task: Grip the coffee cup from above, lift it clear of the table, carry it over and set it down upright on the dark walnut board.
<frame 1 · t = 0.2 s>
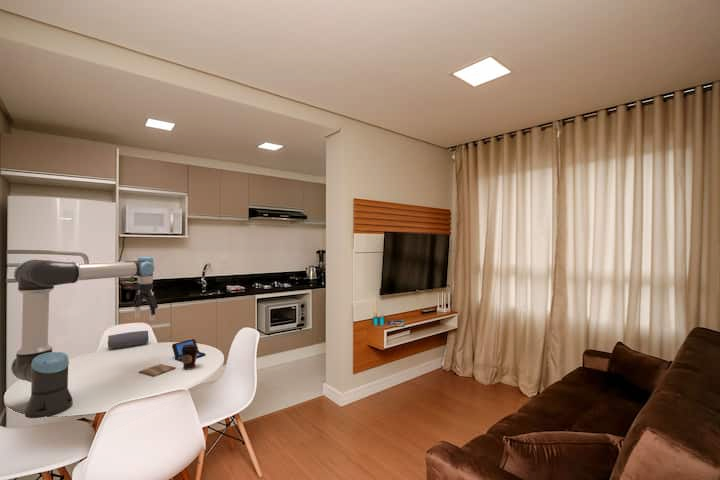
hand: (144, 319, 195), 28 cm above the table, tool pointing down, fingers open, 13 cm apart
walnut board: (157, 370, 189), on the table
handheld game console: (189, 357, 212), on the table
bluetooth speaker: (128, 347, 232), on the table
coffee cup: (189, 367, 194), on the table
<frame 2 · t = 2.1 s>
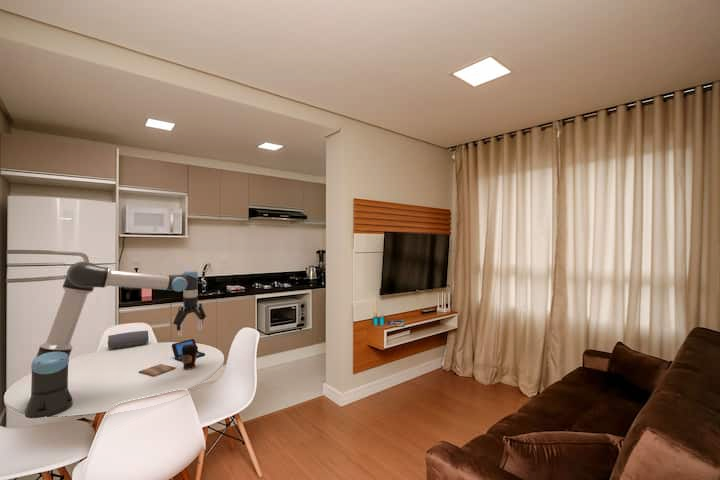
hand: (190, 333, 195), 20 cm above the table, tool pointing down, fingers open, 13 cm apart
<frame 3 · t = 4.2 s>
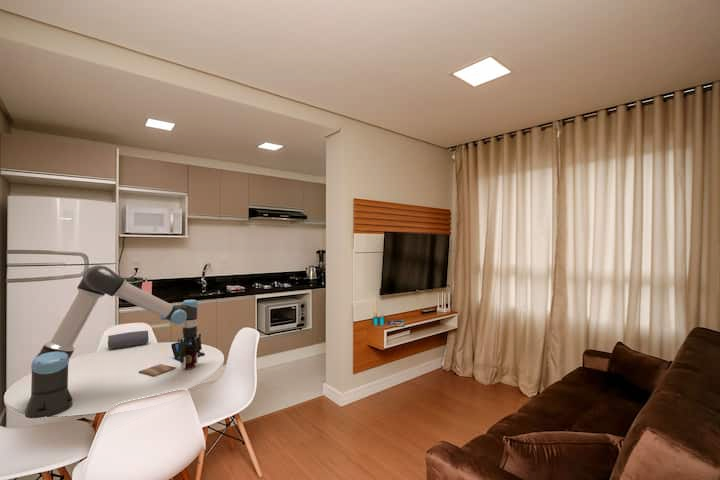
hand: (189, 365, 194), 1 cm above the table, tool pointing down, fingers closed on coffee cup, 7 cm apart
coffee cup: (189, 367, 194), on the table, touching gripper
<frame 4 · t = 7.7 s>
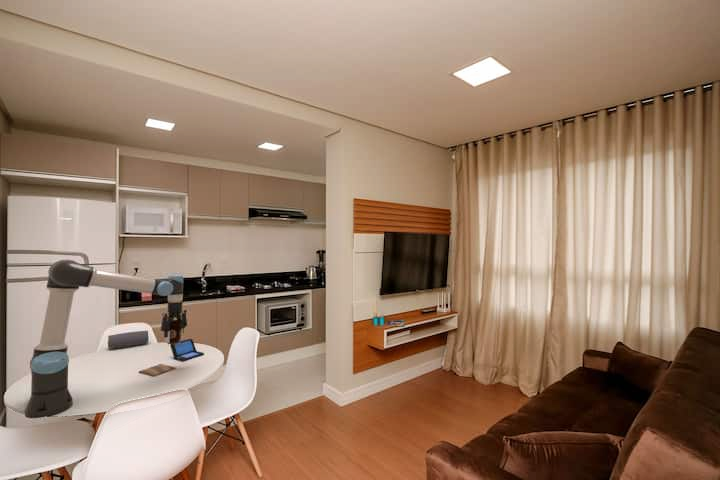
hand: (173, 341, 191), 16 cm above the table, tool pointing down, fingers closed on coffee cup, 7 cm apart
coffee cup: (173, 343, 191), point 15 cm above the table, touching gripper
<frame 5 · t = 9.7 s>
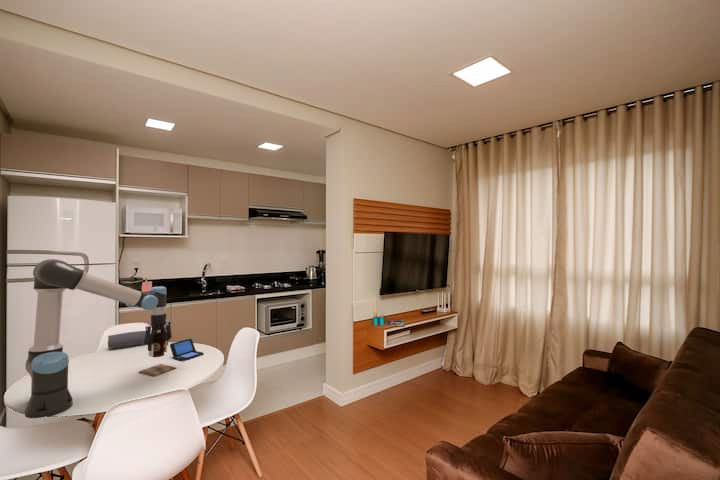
hand: (158, 353, 189), 10 cm above the table, tool pointing down, fingers closed on coffee cup, 7 cm apart
coffee cup: (157, 356, 189), point 8 cm above the table, touching gripper
when the fingers open (4 cm above the table, at t = 11.2 s): coffee cup drops 2 cm, resting on walnut board.
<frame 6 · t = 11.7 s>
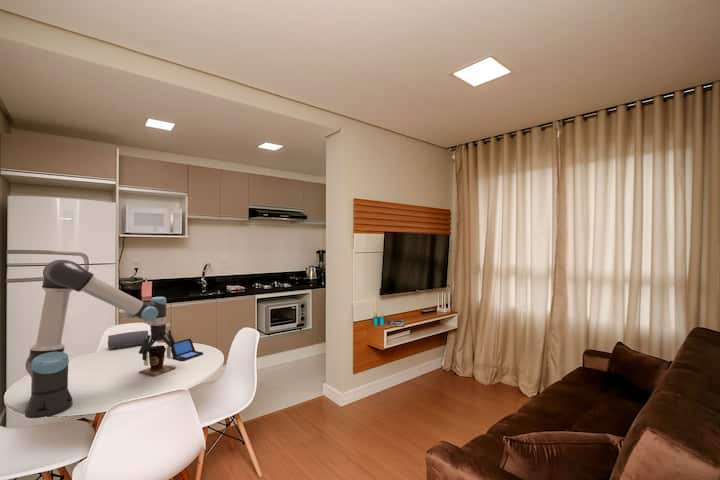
hand: (157, 361, 189), 5 cm above the table, tool pointing down, fingers open, 13 cm apart
coffee cup: (156, 370, 188), point 1 cm above the table, touching walnut board
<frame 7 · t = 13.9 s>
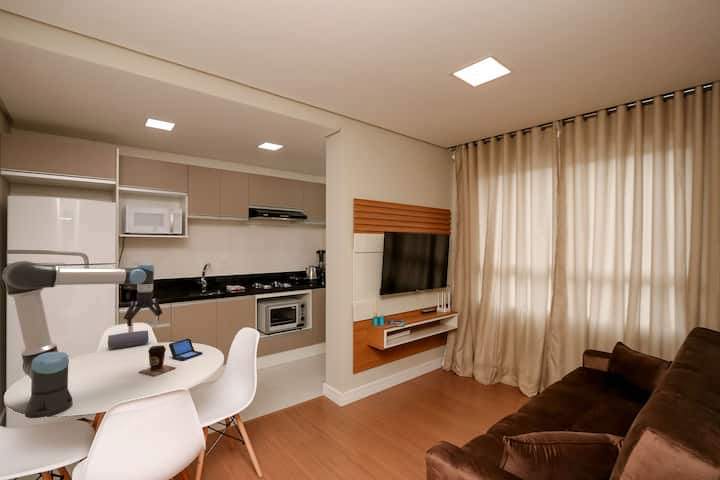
hand: (143, 329, 185), 24 cm above the table, tool pointing down, fingers open, 13 cm apart
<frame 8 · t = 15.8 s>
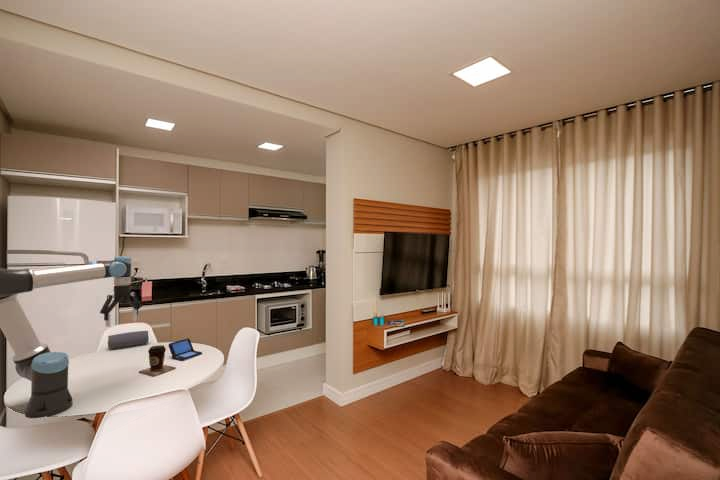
hand: (121, 323, 180), 29 cm above the table, tool pointing down, fingers open, 13 cm apart
at the end: coffee cup inside the target area on the walnut board (0.6 cm from its centre), point 0.6 cm above the walnut board's base; coffee cup tilted 0°; the gripper is holding nothing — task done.
